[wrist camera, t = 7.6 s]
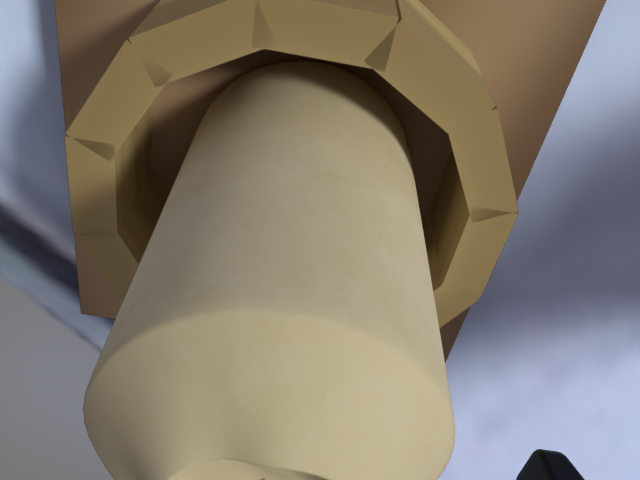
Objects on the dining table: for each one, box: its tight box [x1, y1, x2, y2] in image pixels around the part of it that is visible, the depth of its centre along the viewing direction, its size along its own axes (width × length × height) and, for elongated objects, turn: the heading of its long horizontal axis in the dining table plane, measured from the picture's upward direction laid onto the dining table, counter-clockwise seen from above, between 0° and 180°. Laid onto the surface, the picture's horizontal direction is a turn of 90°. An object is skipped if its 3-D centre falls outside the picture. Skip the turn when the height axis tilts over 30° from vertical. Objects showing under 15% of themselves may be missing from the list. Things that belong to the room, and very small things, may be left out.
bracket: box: [55, 0, 606, 362], centre depth 15 cm, size 12×14×4 cm
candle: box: [83, 60, 455, 480], centre depth 12 cm, size 6×6×10 cm
